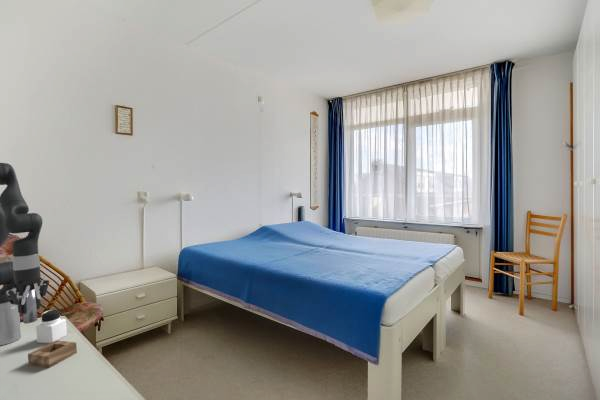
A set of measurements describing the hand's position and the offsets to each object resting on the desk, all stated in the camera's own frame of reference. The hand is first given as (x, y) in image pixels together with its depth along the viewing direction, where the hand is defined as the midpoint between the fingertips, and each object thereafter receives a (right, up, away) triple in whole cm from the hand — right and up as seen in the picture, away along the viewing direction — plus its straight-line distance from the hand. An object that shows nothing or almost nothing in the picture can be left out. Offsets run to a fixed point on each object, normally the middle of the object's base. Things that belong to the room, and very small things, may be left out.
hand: (29, 311), depth 115 cm
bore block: (+11, -17, -2) cm, 20 cm away
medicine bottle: (-3, -17, +14) cm, 22 cm away
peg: (0, -4, 0) cm, 4 cm away
